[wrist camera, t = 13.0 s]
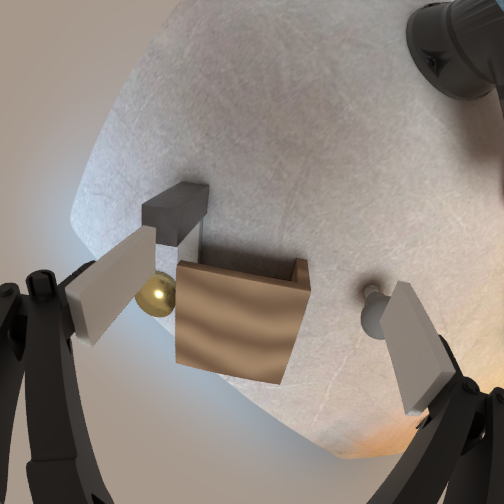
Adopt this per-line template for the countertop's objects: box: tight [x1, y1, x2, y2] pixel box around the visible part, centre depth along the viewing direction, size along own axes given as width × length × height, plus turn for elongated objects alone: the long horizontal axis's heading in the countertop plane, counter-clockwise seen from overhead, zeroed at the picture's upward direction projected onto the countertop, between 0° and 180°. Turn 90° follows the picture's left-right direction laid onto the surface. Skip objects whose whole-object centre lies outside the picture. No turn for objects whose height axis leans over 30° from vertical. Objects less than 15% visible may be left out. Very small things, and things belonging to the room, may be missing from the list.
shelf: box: [175, 258, 311, 385], centre depth 41 cm, size 17×16×8 cm
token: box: [135, 271, 176, 317], centre depth 45 cm, size 7×7×3 cm
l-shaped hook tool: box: [142, 182, 209, 264], centre depth 37 cm, size 22×4×12 cm, turn 173°
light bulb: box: [361, 285, 391, 340], centre depth 37 cm, size 6×6×10 cm
